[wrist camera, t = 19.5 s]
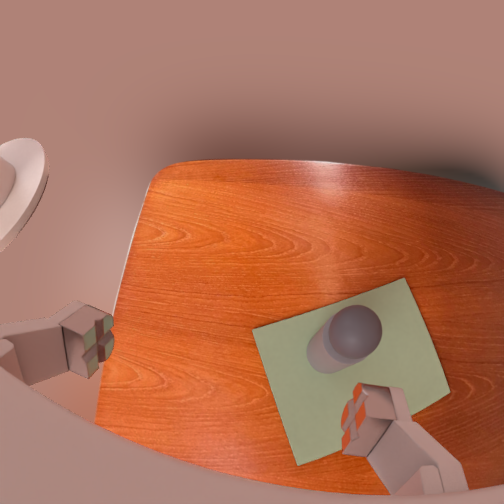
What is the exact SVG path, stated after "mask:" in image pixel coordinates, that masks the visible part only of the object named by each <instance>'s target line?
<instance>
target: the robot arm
mask: <svg viewBox="0 0 504 504" xmlns="http://www.w3.org/2000/svg"><path fill="white" fill-rule="evenodd" d="M14 180H15V168H14V166H13V165H12V164H10V163H9V162H7V161H6V160H5V159H3V158H2V157H1V156H0V207H1V206H2V204H3V203H4V202H5V200H6V198H7V197H8V195H9V193H10V191H11V189H12V186H13V184H14ZM113 326H114V322H113V316H112V315H111V314H109V313H106V312H104V311H102V310H99V309H97V308H94V307H92V306H89V305H87V304H85V303H82V302H80V301H72V302H71V303H70V304H68V305H67V306H65V307H64V308H62V309H61V310H60V311H58V312H57V313H55V314H54V315H52V316H51V317H50V318H48V319H46V318H39V319H32V320H27V321H20V322H13V323H7V324H0V504H504V484H502V485H497V486H492V487H487V488H481V489H474V490H469V489H468V485H467V482H466V478H465V475H464V472H463V469H462V465H461V463H460V462H459V461H458V460H457V459H455V458H454V457H453V456H452V455H451V454H450V453H449V452H448V451H447V450H446V449H445V448H444V447H443V446H441V445H440V444H439V443H438V442H437V441H436V440H435V439H434V438H433V437H432V436H431V435H430V434H429V433H427V432H426V431H425V430H424V429H423V428H422V427H421V426H420V425H419V424H418V423H417V422H412V418H411V415H410V411H409V408H408V405H407V401H406V398H405V395H404V391H403V389H402V388H398V387H389V386H387V387H385V386H378V385H372V384H365V383H359V382H358V384H357V385H356V386H355V388H354V390H353V398H352V399H351V400H349V401H347V403H346V405H345V407H344V410H343V413H342V417H341V429H342V430H343V431H344V432H345V433H344V435H343V437H342V438H341V439H342V454H346V455H353V456H361V457H367V460H368V461H369V463H370V464H371V466H372V467H373V469H374V470H375V472H376V473H377V475H378V476H379V478H380V479H381V481H382V482H383V484H384V485H385V487H386V488H387V490H388V491H389V493H390V494H391V495H358V494H343V493H332V492H323V491H314V490H306V489H299V488H293V487H287V486H281V485H276V484H270V483H265V482H260V481H256V480H251V479H247V478H242V477H238V476H234V475H230V474H227V473H223V472H219V471H216V470H212V469H209V468H205V467H202V466H199V465H195V464H192V463H189V462H186V461H183V460H180V459H177V458H174V457H172V456H169V455H166V454H163V453H161V452H158V451H155V450H153V449H150V448H148V447H145V446H143V445H140V444H138V443H135V442H133V441H131V440H128V439H126V438H124V437H122V436H119V435H117V434H115V433H113V432H111V431H109V430H106V429H104V428H102V427H100V426H98V425H96V424H94V423H92V422H90V421H88V420H86V419H84V418H83V417H81V416H79V415H77V414H75V413H73V412H71V411H70V410H68V409H66V408H64V407H62V406H61V405H59V404H57V403H55V402H54V401H52V400H50V399H49V398H47V397H46V396H44V395H42V394H41V393H39V392H37V391H36V390H34V389H33V388H31V387H30V385H33V384H35V383H38V382H41V381H43V380H46V379H49V378H51V377H54V376H57V375H59V374H62V373H65V372H68V371H69V370H70V371H72V372H74V373H76V374H78V375H80V376H83V377H85V378H87V379H89V378H90V377H91V376H92V375H93V374H94V373H95V372H96V371H97V370H98V368H99V365H98V363H100V362H104V361H106V360H107V359H108V358H109V357H110V355H111V353H112V350H113V347H114V335H113V334H112V332H111V330H110V329H111V328H112V327H113Z"/></svg>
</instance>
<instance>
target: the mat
mask: <svg viewBox="0 0 504 504" xmlns="http://www.w3.org/2000/svg"><path fill="white" fill-rule="evenodd" d="M351 305H362V306H366V307H368V308H370V309H371V310H373V311H374V312H375V313H376V314H377V316H378V317H379V319H380V321H381V324H382V338H381V341H380V343H379V345H378V347H377V348H376V349H375V350H374V351H373V352H372V353H371V354H369V355H368V356H367V357H366V358H365V359H364V360H362V361H361V362H358V363H356V364H354V365H352V366H349V367H347V368H345V369H342V370H340V371H338V372H335V373H331V374H324V373H321V372H318V371H316V370H315V369H314V368H313V367H312V366H311V365H310V363H309V361H308V359H307V346H308V343H309V342H310V340H311V339H312V338H313V336H314V335H315V334H316V333H317V332H318V331H319V330H320V328H321V327H322V326H323V325H324V324H325V323H326V322H327V320H328V319H329V318H330V317H331V316H333V315H334V314H336V313H338V312H339V311H340V310H342V309H343V308H345V307H348V306H351ZM252 332H253V335H254V338H255V341H256V344H257V347H258V351H259V354H260V357H261V360H262V363H263V366H264V369H265V372H266V375H267V378H268V381H269V384H270V387H271V390H272V393H273V396H274V399H275V402H276V405H277V408H278V411H279V414H280V417H281V420H282V423H283V425H284V428H285V431H286V434H287V437H288V440H289V443H290V446H291V449H292V452H293V454H294V457H295V460H296V463H297V465H298V466H299V465H302V464H305V463H308V462H310V461H313V460H316V459H319V458H321V457H324V456H326V455H329V454H332V453H334V452H337V451H339V450H341V449H342V439H341V438H342V437H343V435H344V433H345V432H344V431H343V430H342V429H341V417H342V413H343V410H344V407H345V405H346V403H347V401H349V400H351V399H352V398H353V390H354V388H355V386H356V385H357V384H358V382H359V383H365V384H372V385H378V386H385V387H387V386H389V387H398V388H402V389H403V391H404V395H405V398H406V401H407V405H408V408H409V411H410V415H411V416H412V415H413V414H415V413H417V412H419V411H421V410H422V409H424V408H426V407H427V406H429V405H431V404H432V403H434V402H436V401H437V400H439V399H441V398H442V397H444V396H445V395H447V394H448V393H450V389H449V386H448V383H447V380H446V378H445V375H444V372H443V369H442V366H441V364H440V361H439V358H438V355H437V353H436V350H435V348H434V345H433V342H432V340H431V337H430V335H429V332H428V330H427V328H426V325H425V323H424V320H423V318H422V316H421V313H420V311H419V309H418V306H417V304H416V302H415V299H414V297H413V295H412V293H411V291H410V288H409V286H408V284H407V282H406V280H405V278H402V279H399V280H397V281H394V282H392V283H389V284H386V285H384V286H381V287H378V288H376V289H373V290H370V291H368V292H365V293H362V294H359V295H357V296H354V297H351V298H348V299H345V300H343V301H340V302H337V303H334V304H331V305H328V306H325V307H322V308H319V309H316V310H313V311H310V312H307V313H304V314H301V315H298V316H295V317H292V318H289V319H285V320H282V321H279V322H276V323H273V324H269V325H266V326H263V327H259V328H256V329H253V330H252Z"/></svg>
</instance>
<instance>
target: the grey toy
mask: <svg viewBox="0 0 504 504" xmlns="http://www.w3.org/2000/svg"><path fill="white" fill-rule="evenodd" d="M381 338H382V324H381V321H380V319H379V317H378V316H377V314H376V313H375V312H374V311H373V310H371V309H370V308H368V307H366V306H362V305H351V306H348V307H345V308H343V309H342V310H340V311H339V312H338V313H336V314H334V315H333V316H331V317H330V318H329V319H328V320H327V322H326V323H325V324H324V325H323V326H322V327H321V328H320V330H319V331H318V332H317V333H316V334H315V335H314V336H313V338H312V339H311V340H310V342H309V343H308V346H307V359H308V361H309V363H310V365H311V366H312V367H313V368H314V369H315V370H316V371H318V372H321V373H324V374H331V373H335V372H338V371H340V370H342V369H345V368H347V367H349V366H352V365H354V364H356V363H358V362H361V361H362V360H364V359H365V358H366V357H367V356H368V355H369V354H371V353H372V352H373V351H374V350H375V349H376V348H377V347H378V345H379V343H380V341H381Z"/></svg>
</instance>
